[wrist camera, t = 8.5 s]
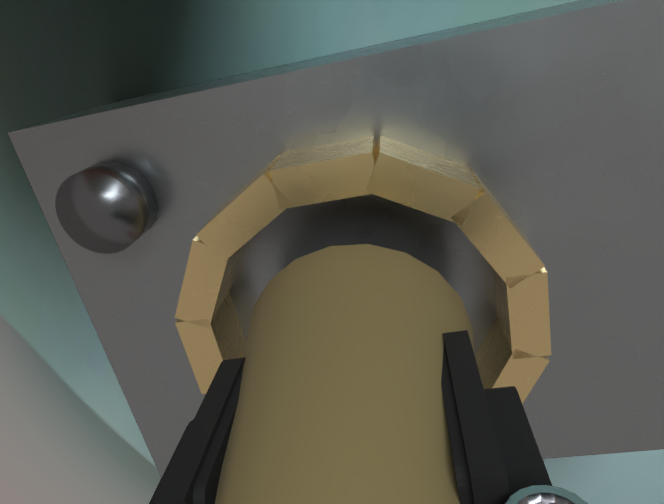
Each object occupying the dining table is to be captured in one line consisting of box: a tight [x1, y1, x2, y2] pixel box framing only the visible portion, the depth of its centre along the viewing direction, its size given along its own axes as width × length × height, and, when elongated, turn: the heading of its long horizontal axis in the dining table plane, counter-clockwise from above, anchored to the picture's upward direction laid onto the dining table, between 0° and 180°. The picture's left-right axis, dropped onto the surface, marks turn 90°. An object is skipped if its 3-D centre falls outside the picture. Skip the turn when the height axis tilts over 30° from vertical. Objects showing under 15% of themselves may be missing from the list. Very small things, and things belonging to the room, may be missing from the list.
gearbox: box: [8, 0, 664, 478], centre depth 18 cm, size 14×18×8 cm
